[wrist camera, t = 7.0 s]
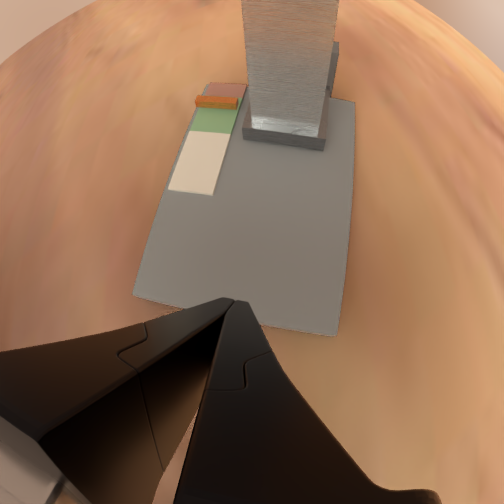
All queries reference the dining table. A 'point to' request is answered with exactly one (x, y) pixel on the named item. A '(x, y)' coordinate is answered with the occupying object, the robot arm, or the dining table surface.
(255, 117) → the bar
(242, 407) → the robot arm
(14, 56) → the dining table surface
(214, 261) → the gauge board
